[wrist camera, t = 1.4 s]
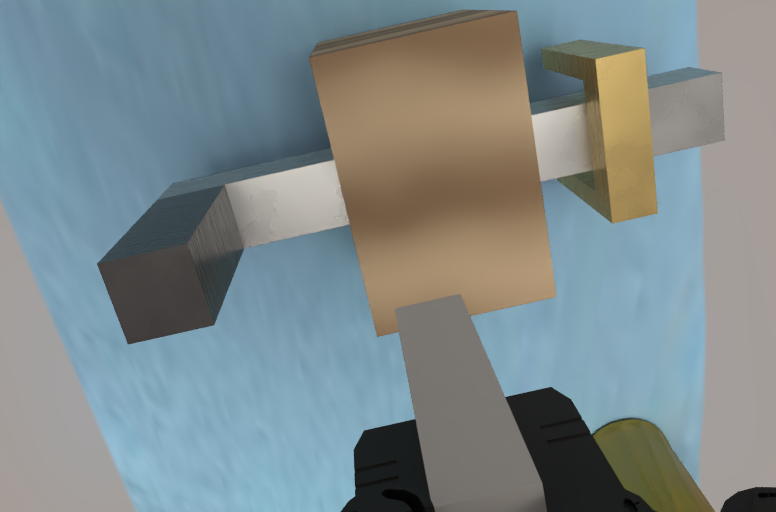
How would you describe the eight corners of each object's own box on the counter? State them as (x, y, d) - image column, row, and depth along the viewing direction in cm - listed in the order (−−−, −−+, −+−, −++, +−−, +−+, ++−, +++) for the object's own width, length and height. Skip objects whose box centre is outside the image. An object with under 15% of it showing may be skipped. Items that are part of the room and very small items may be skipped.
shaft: (172, 183, 33) (97, 263, 22) (688, 67, 33) (851, 94, 22) (192, 241, 34) (128, 344, 24) (692, 129, 34) (848, 183, 23)
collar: (541, 48, 35) (595, 59, 27) (580, 39, 35) (644, 48, 27) (558, 180, 37) (612, 223, 30) (594, 172, 37) (657, 213, 30)
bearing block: (317, 42, 37) (309, 57, 26) (462, 9, 37) (516, 10, 26) (366, 247, 41) (377, 336, 30) (497, 218, 41) (556, 296, 30)
